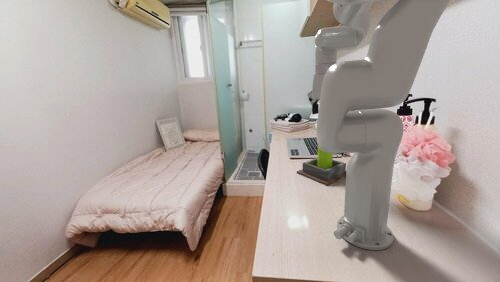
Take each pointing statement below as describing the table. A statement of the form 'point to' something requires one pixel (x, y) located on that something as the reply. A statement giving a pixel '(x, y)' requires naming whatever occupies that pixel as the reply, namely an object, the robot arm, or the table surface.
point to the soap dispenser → (324, 159)
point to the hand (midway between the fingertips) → (325, 114)
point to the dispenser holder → (323, 171)
